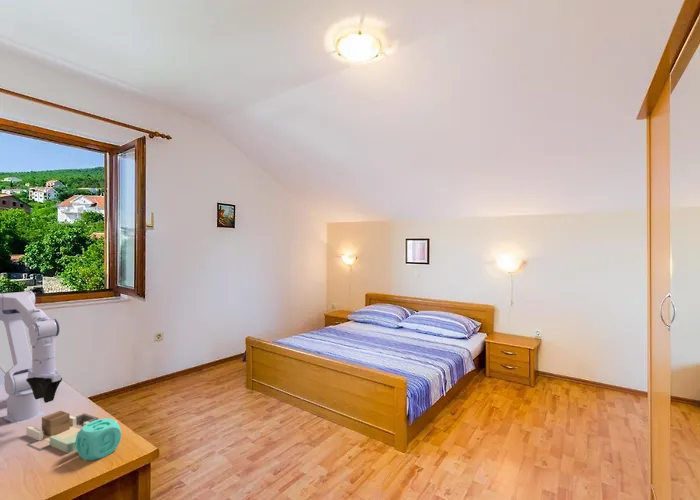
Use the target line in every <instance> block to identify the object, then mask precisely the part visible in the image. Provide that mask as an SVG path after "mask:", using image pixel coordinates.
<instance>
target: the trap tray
mask: <svg viewBox="0 0 700 500" xmlns="http://www.w3.org/2000/svg"><path fill="white" fill-rule="evenodd" d="M98 419H99V417H97V416H94V415H91V414H88V413H82V414H79V415H76V416H73V415H70V429H69V430H67V431H64V432H62V433H60V434H57V435H55V436H54V435H53V436H51V437H49V436H47V435H44V434H43V431H42V428H41V429H38V428H37V427H34V426H31V425H30V426H27V427H26V428H25V429H26V433H25V435H26V436H27V437H30V438H32V439H35V440H34V441H30V442H29V443H26V444H25V446H28V447H30V448H32V449H35V450H37V451H39V452H41V451H43V450H46V449H48V448H50V447H53V448H54V449H55V448H56V449H57V450H60V451H62V452H65V453H66V454H70V453H73V452H74V451H77V449H76V437H77V434H78V433H79V431H80V430H81V429H82V428H83V427H84V426H85V425H86V424H88V423H90V422H92V421H95V420H98ZM80 424H83V426H82V428H78V427H76V426H78V425H80ZM42 440H45V441H46V442H49V444H48V445H47V446H45V447H42V448H38V447H36V446H34V445H32V444H35V443H37V442H39V441H42Z"/></svg>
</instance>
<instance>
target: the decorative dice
mask: <svg viewBox="0 0 700 500" xmlns="http://www.w3.org/2000/svg"><path fill="white" fill-rule="evenodd" d="M80 429H81V430H80V431H79V433H78V434H77V437H76V449H77V450H76V452H77V454H78V455H79V457H80V458H81V459H82V460H85V461H95V460H96V461H97V460H100V459H103V458H105V457H107V456H109V455H111V454H112V453H113V452H114V451H115V450H116V449H117V448H118V446H119V444H120V442H121V440H122V430H121V427H120V425H119V423H118V421H117V420H115V419H114V418H109V417H108V418H107V417H105V418H98V420H95V421H92V422H90V423H88V424H86V425H85V426H84V427H83V426H82V428H80Z"/></svg>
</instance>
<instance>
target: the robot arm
mask: <svg viewBox="0 0 700 500" xmlns="http://www.w3.org/2000/svg"><path fill="white" fill-rule="evenodd" d="M35 304H36V294H35V293H34V292H33V291H32V290H26V291H19V292H18V291H17V292H6V293H5V292H4V293H3V292H2V293H0V321H2V322H3V324H4V327H5V331H6V335H7V340H8V344H9V350H10V355H11V359H12V363H13V366H12V367H11V368H10V369H9V370H7V371H6V372H5V374H4V377H3V378H4V390H5V393H6V394H7V395H8V397H7V400H6V403H7V404H6V413H7V414H6V416H4V417H3V420H5V421H8V422H10V423H15V424H21V423H24V422H26V421H30V420H32V419H36V418H38V417H40V416H42V415H45V414H47V412H44V411H42V410H41V408H42V407H41V405H42V404H41V401H42V399H43V402H44V403H45V404H47V403H49V402H53V401H54V399H55V396H56V393H57V390H58V387H59V386H60V384H61V382H62V381H63V377H62V374H61V373H60V372H58V369H57V360H56V359H57V354H56V353H57V337H58V336H59V334H60V331H61V327H60V323H59V321H58V319H57V318H49V316H48V315H47V314H46V313H45V312H44V310H42V309H40V308H37V307H36V306H35ZM25 326H26V327H25ZM26 328H28V336H29V337H28V336H27V332H26ZM28 338H29V340H30V341H28ZM29 343H30V344H29ZM30 346H31V349H30ZM31 351H32V352H31Z"/></svg>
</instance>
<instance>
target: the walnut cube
mask: <svg viewBox="0 0 700 500" xmlns="http://www.w3.org/2000/svg"><path fill="white" fill-rule="evenodd" d="M70 416H71V415H70V413H69V412H65V411H64V410H58V411H56V412H53V413H50V414H47V415H44V416H43V417H41V429H42V431H43V434H44V435H47V436H49V437H51V436H53V435H54V436H55V435H57V434H60V433H62V432H64V431H67V430H69V429H70Z"/></svg>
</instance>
